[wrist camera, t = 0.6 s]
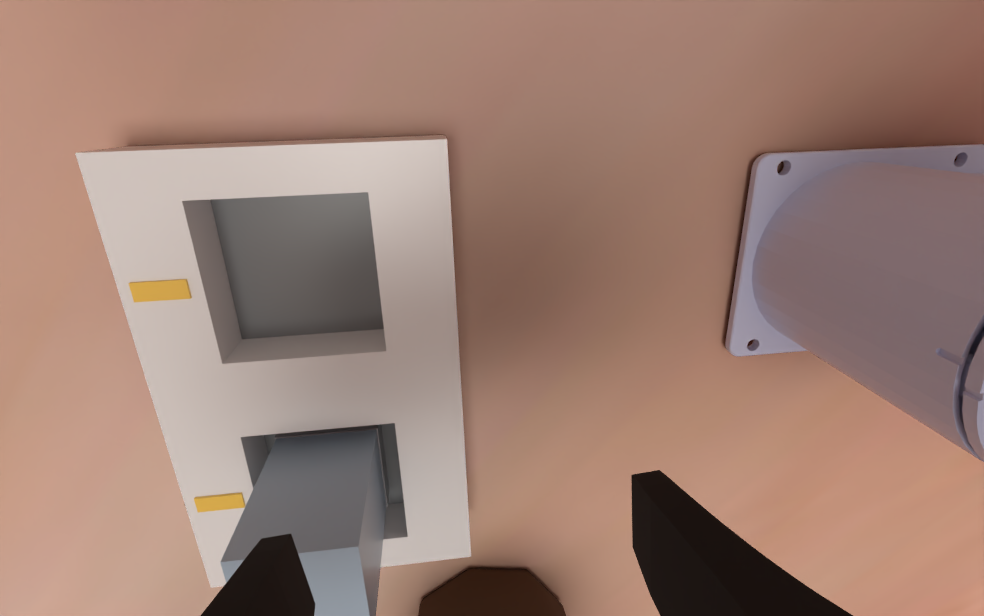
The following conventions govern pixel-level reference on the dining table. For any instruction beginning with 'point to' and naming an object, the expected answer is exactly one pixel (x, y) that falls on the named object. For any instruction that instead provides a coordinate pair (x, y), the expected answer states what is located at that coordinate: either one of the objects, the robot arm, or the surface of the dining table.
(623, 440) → the dining table surface
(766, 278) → the robot arm
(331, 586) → the plug
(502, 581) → the beer bottle
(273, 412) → the panel
